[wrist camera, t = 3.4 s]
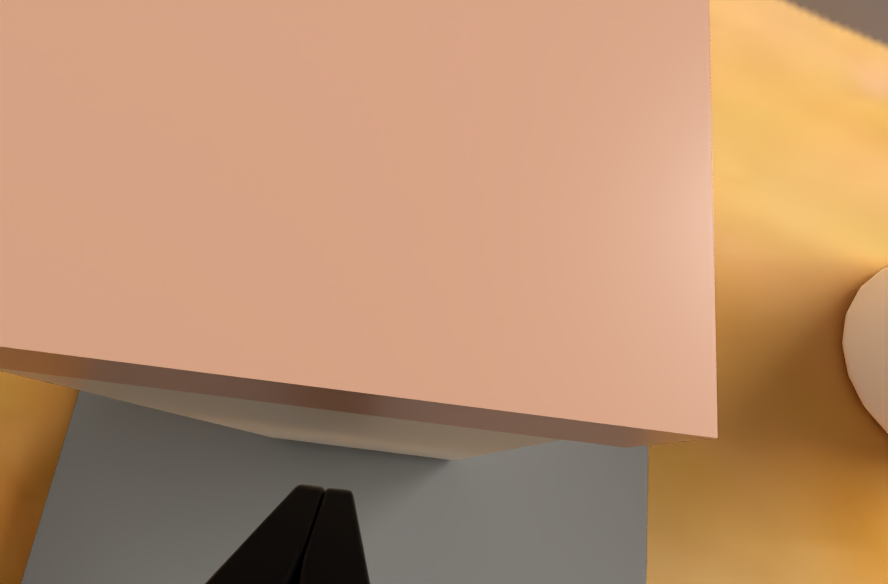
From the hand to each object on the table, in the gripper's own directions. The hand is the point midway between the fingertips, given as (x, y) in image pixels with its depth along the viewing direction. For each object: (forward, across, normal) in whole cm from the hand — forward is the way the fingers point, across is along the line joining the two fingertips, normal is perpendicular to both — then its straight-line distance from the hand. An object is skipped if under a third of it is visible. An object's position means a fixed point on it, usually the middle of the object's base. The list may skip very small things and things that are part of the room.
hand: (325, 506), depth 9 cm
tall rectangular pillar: (+8, 0, +3) cm, 8 cm away
